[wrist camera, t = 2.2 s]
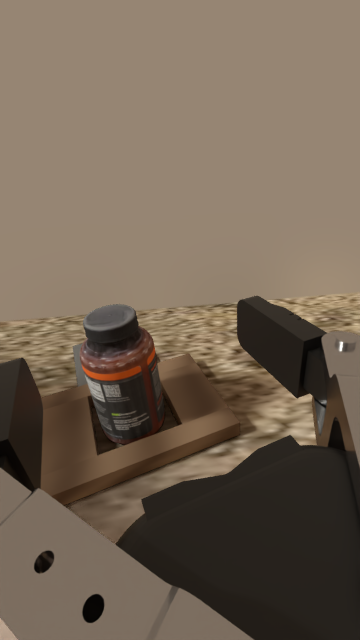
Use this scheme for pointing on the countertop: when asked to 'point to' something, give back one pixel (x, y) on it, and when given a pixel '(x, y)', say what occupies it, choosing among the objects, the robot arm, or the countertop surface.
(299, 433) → the countertop surface
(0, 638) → the countertop surface
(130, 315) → the supplement bottle
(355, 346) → the robot arm
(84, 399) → the walnut holder
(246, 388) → the countertop surface
